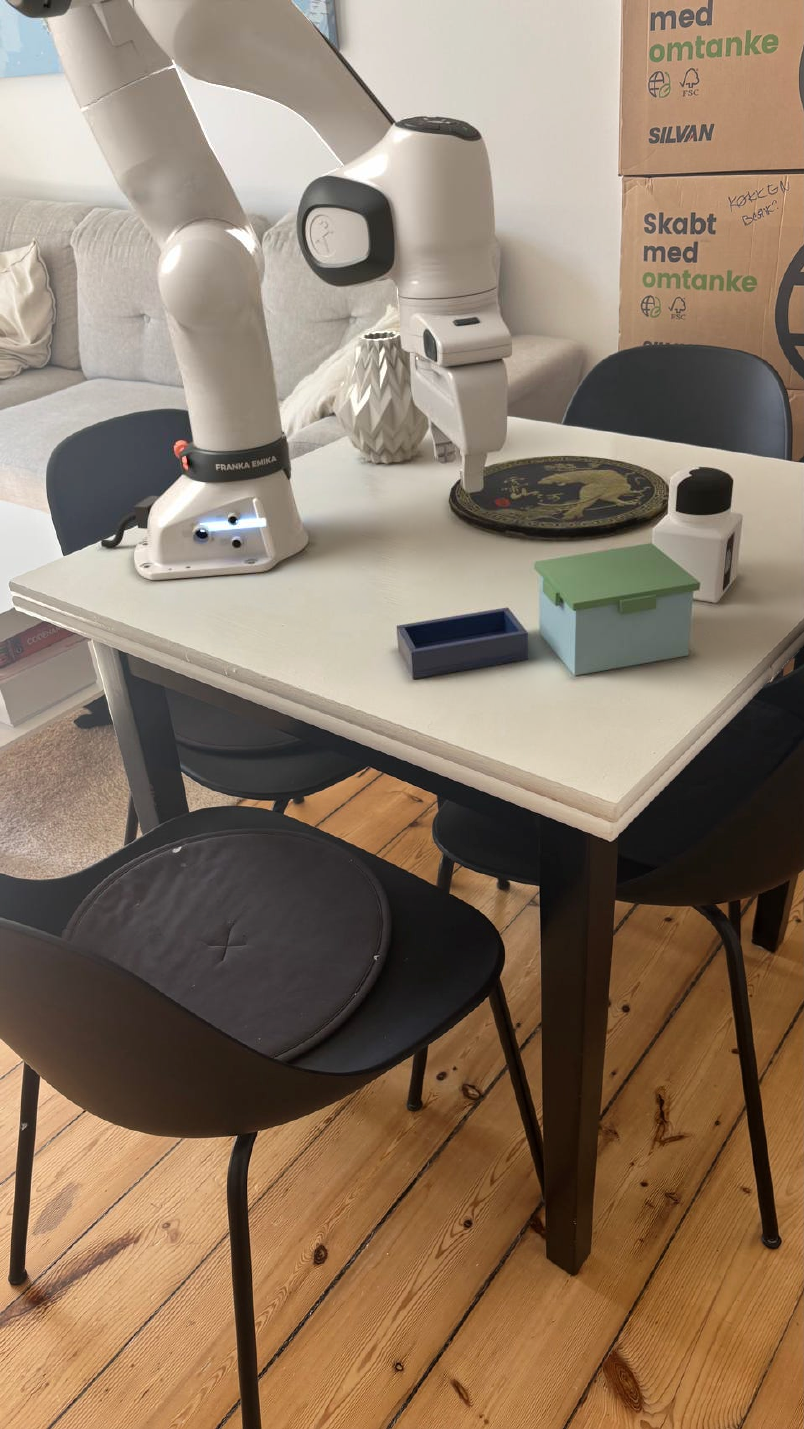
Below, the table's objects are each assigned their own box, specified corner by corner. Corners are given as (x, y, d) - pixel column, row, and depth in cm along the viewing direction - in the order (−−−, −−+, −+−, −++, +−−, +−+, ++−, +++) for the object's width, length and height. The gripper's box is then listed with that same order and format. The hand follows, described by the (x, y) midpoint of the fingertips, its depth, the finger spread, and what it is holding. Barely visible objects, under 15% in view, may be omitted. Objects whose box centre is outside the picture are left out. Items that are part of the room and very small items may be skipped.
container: (737, 577, 119) (748, 465, 113) (717, 604, 114) (728, 488, 107) (670, 567, 123) (677, 458, 116) (648, 593, 117) (654, 480, 111)
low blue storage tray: (412, 679, 104) (411, 652, 102) (398, 651, 109) (396, 625, 108) (528, 659, 106) (528, 632, 104) (508, 632, 111) (508, 607, 110)
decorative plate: (450, 534, 132) (446, 459, 157) (451, 548, 133) (447, 471, 158) (693, 522, 130) (649, 449, 156) (691, 537, 131) (648, 462, 157)
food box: (569, 681, 102) (570, 605, 97) (529, 631, 111) (529, 560, 107) (699, 658, 104) (706, 583, 100) (649, 610, 114) (653, 541, 110)
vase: (323, 453, 171) (311, 334, 162) (415, 435, 176) (408, 319, 167) (360, 480, 158) (349, 353, 149) (458, 460, 163) (453, 336, 154)
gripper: (389, 310, 102) (401, 450, 109) (444, 350, 85) (454, 513, 92) (451, 302, 103) (460, 441, 110) (519, 340, 86) (523, 502, 93)
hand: (458, 475), depth 101 cm, fingers open, 8 cm apart
